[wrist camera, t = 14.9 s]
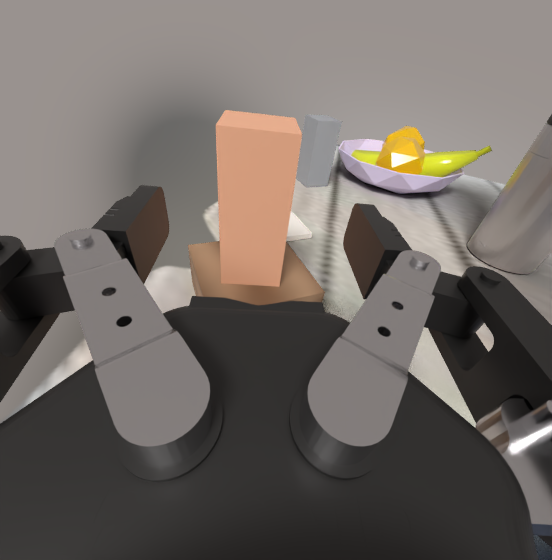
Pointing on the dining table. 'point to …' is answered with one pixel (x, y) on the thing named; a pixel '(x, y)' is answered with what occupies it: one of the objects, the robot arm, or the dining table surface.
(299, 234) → the card
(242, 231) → the terracotta block
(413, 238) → the dining table surface
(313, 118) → the grey block
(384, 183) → the fruit bowl
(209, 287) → the walnut plinth
